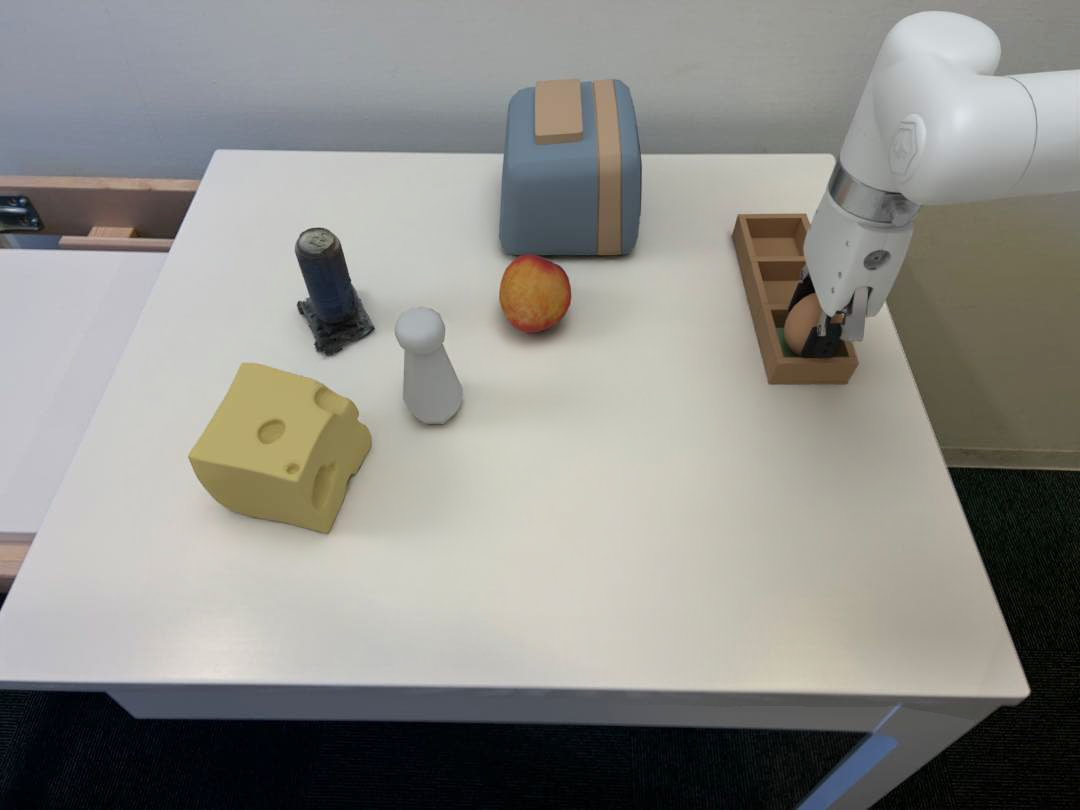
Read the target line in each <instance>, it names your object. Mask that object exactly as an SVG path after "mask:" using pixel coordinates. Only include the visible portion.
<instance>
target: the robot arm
mask: <svg viewBox="0 0 1080 810" xmlns="http://www.w3.org/2000/svg"><path fill="white" fill-rule="evenodd" d="M1001 57H1002V46H1001V41H1000V39H999V37H998V35H997V34H996V33H995V31H994V30H993V29H992V28H991V27H990V26H988V25H987V24H986V23H984V22H983V21H981V20H979V19H977V18H973V17H971V16H969V15H965V14H962V13H958V12H953V11H952V12H951V11H944V10H925V11H924V10H923V11H920V12H916V13H913V14H910V15H908V16H905V17H904V18H902V19H901V20H899V21H898V22H896V23H895V25H893V27H892V28H891V29H890V30H889V31H888V33H887V34H886V36H885V38H884V41H883V43H882V45H881V47H880V49H879V52H878V55H877V58H876V60H875V61H874V64H873V67H872V70H871V72H870V75H869V77H868V80H867V82H866V85H865V88H864V90H863V93H862V95H861V98H860V100H859V103H858V105H857V108H856V110H855V113H854V116H853V118H852V120H851V124H850V125H849V129H848V131H847V133H846V136H845V139H844V141H843V143H842V146H841V149H840V151H839V154H838V155H837V156H838V157H837V159H836V161H835V164H834V166H833V169H832V171H831V174H830V177H829V179H828V181H827V184H826V187H825V192H824V193H823V195H822V197H821V199H820V201H819V203H818V206H817V208H816V210H815V212H814V215H813V217H812V219H811V220H810V221H811V222H810V226H809V229H808V232H807V235H806V238H805V241H804V246H803V251H804V257H805V261H806V264H805V265H804V267H803V268H802V269H801V271H800V281H801V282H803V283H798V285H797V287H796V290H795V292H794V295H793V297H792V300H791V302H790V304H789V307H788V310H789V313H790V311H791V310H792V309H793V307H794V306H795V305H796V304H797V303H798V302H799V301H801V300H802V299H803V298H804V297H806V296H808V295H810V294H812V293H816V294H817V297H818V300H819V303H820V305H821V308H822V311H821V315H820V319H819V322H818V326H817V327H812V329H811V332H810V334H809V336H808V338H807V340H806V342H805V345H804V347H803V349H802V351H801V354H802V357H803V358H832V357H834V355H835V354H836V352H837V350H838V348H839V346H840V344H841V342H842V340H844V341H847V342H852V343H853V342H862V341H863V340H864V336H865V327H866V318H874V317H876V316H877V315H878V314H879V313H880V311H881V310H882V308H883V306H884V304H885V303H886V300H887V298H888V296H889V294H890V292H891V290H892V288H893V286H894V284H895V282H896V279H898V274H899V273H900V271H901V268H902V266H903V264H904V260H905V258H906V256H907V253H908V250H909V247H910V244H911V241H912V238H913V233H914V229H915V224H914V220H915V219H916V218H917V217H918V216H919V214H920V212H921V210H922V208H923V206H927V207H928V206H929V207H939V206H940V207H942V206H952V205H960V204H961V205H962V204H971V203H979V202H987V201H988V202H989V201H994V200H1002V199H1012V198H1021V197H1033V196H1041V195H1042V196H1043V195H1053V194H1065V193H1072V192H1080V68H1079V69H1068V70H1067V69H1066V70H1051V71H1041V72H1030V73H1021V74H1020V73H1019V74H1009V75H1001V76H997V75H995V73H996V71H997V69H998V67H999V64H1000V60H1001ZM836 314H842V315H843V320H842V323H830V320H831V317H833V316H834V315H836Z"/></svg>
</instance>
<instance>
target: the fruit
mask: <svg viewBox="0 0 1080 810" xmlns="http://www.w3.org/2000/svg"><path fill="white" fill-rule="evenodd" d="M499 285H500V286H499V290H498V291H499V292H498V295H499V298H498V299H499V300H498V301H499V303H500V307H501V310H502V312H503V314H504V316H505V318H506V319H507V321H508V322H509V323H510V324H511V325H512V326H513V327H514V328H515V329H517V330H519V331H520V332H524V333H537V332H540V331H543V330H546V329H549V328H551V327H553V326H554V325H556V324H557V323H559V322H560V321H561V320H562V319H563V318H564V317H565V315H566V314H567V313H568V310H569V308H570V306H571V303H572V287H571V283H570V279H569V276H568V275H567V272H566V271H565V270H564V268H563V267H562V266H560V264H557V263H556V262H553V261H552V260H550V259H547V258H545V257H542V256H540V255H532V254H525V255H518V256H517V257H516V258H514V259H513V260H512V261H511V262H510V264H508V265H507V266H506V268H505V270H504V272H503V275H502V277H501V281H500V284H499Z"/></svg>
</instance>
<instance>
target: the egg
mask: <svg viewBox="0 0 1080 810" xmlns="http://www.w3.org/2000/svg"><path fill="white" fill-rule="evenodd" d="M821 311H822V308H821V305H820V303H819V300H818V297H817V294H816V293H812V294H810V295H808V296H806V297H804V298H803V299H802V300H801V301H799V302H798V303H797V304H796V305H795V306H794V307H793V309H792V310H791V311H790V313H789V315H788V317H787V319H786V322H785V326H784V337H785V341H786V344H787V345H788V347H789V349H790V350H791V351H792V352H793V353H795V354H797V355H799V356H802V354H801V351H802V349H803V347H804V345H805V342H806V340H807V338H808V336H809V334H810V332H811V329H812V327H817V326H818V322H819V319H820V315H821ZM842 316H843V315H842ZM842 316H841V314H836V315H834V316H833V317H831V320H830V323H842Z"/></svg>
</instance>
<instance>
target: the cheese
mask: <svg viewBox="0 0 1080 810" xmlns="http://www.w3.org/2000/svg"><path fill="white" fill-rule="evenodd" d="M359 417H360V411H359V409H358V407H357V405H356V403H355V402H353V400H352V399H350V398H348V397H345V396H342V395H340V394H338V393H337V392H335V391H334V390H332V389H330V388H329V387H328V386H327V385H325V384H324V383H322V382H320V381H318V380H317V379H313V378H311V377H308V376H303V375H299V374H295V373H292V372H289V371H285V370H282V369H278V368H275V367H273V366H268V365H266V364H260V363H256V362H255V363H254V362H242V363H241V364H240V366H239V367H238V369H237V371H236V373H235V376H234V377H233V380H232V382H231V384H230V387H229V388H228V390H227V392H226V394H225V396H224V397H223V399H222V401H221V402H220V404H219V406H218V407H217V409H216V411H215V413H214V414H213V416H212V417H211V419H210V421H209V422H208V423H207V426H206V427H205V429H204V430H203V432H202V434H201V435H200V437H199V438H198V439H197V442H196V443H195V444H194V446H193V447H192V448H191V450H190V452H189V453H188V455H187V458H188V461H189V463H190V465H191V468H192V470H193V472H194V474H195V476H196V478H197V480H198V482H199V483H200V485H202V487H203V488H204V489H205V490H206V492H207V493H208V494H209V495H210V496H211V497H212V498H213V499H214V501H216V502H217V503H218V504H219V505H221V506H222V507H224V508H225V509H227V510H228V511H230V512H233V513H235V514H240V515H244V516H248V517H252V518H258V519H263V520H268V521H272V522H278V523H283V524H288V525H292V526H296V527H300V528H304V529H308V530H311V531H315V532H319V533H322V534H329V533H330V531H331V529H332V528H333V527H332V526H333V524H334V523H335V520H336V518H337V515H338V513H339V511H340V509H341V507H342V504H343V501H344V499H345V497H346V493H347V492H346V491H347V485H348V482H349V479H350V477H351V475H352V476H353V475H356V474H357V473H358V471H359V470H360V467H361V465H362V464H363V461H364V460H365V458H366V457H367V455H368V453H369V451H370V449H371V447H372V444H373V443H372V442H373V438H372V433H371V431H370V429H369V428H368V426H367V425H366V424H364V423H362V422H361V421H359Z"/></svg>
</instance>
